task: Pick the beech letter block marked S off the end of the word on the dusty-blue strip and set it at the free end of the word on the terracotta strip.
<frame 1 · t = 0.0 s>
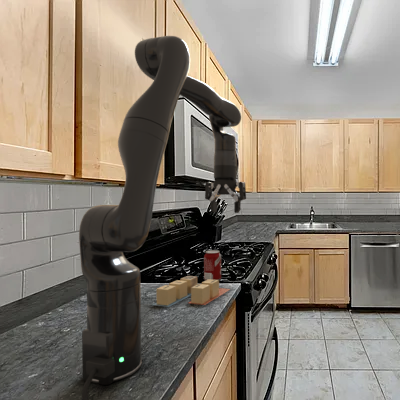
hand: (225, 212, 105), 29 cm above the countertop, tool pointing down, fingers open, 8 cm apart
letter s block: (189, 291, 111), resting on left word
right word: (210, 296, 107), on the countertop
soda can: (212, 280, 127), on the countertop
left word: (178, 297, 105), on the countertop
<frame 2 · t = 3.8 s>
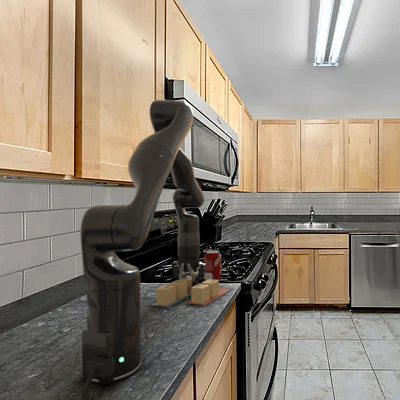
hand: (189, 290, 111), 1 cm above the countertop, tool pointing down, fingers closed on letter s block, 4 cm apart
letter s block: (189, 291, 111), resting on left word, touching gripper
everything else where it was.
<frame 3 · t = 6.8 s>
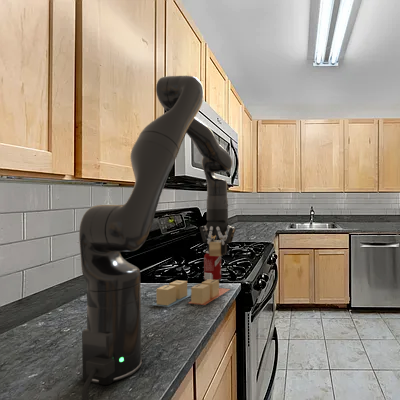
hand: (217, 254, 112), 14 cm above the countertop, tool pointing down, fingers closed on letter s block, 4 cm apart
letter s block: (217, 254, 112), point 13 cm above the countertop, touching gripper
everything else where it was.
when the fingers open (1 cm above the countertop, at t = 10.1 s): letter s block stays where it is, resting on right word.
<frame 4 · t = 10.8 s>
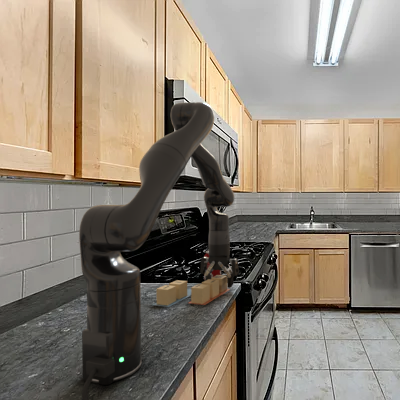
hand: (219, 286, 112), 2 cm above the countertop, tool pointing down, fingers open, 8 cm apart
letter s block: (219, 290, 113), resting on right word
everything else where it was.
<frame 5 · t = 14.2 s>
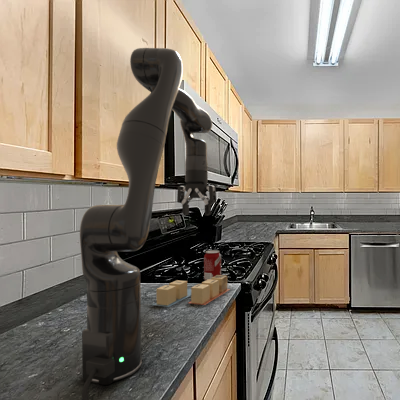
hand: (196, 215, 109), 28 cm above the countertop, tool pointing down, fingers open, 8 cm apart
nothing on the countertop moved.
at the end: letter s block 0.1 cm from the target spot, resting on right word; letter s block tilted 0°; the gripper is holding nothing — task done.
